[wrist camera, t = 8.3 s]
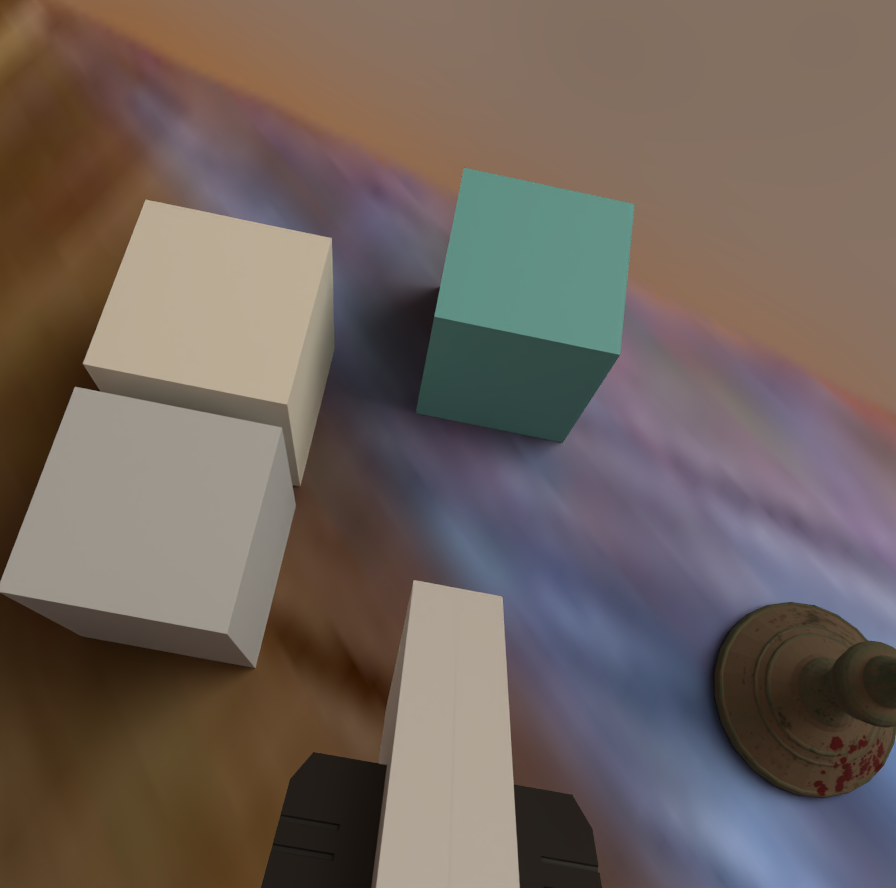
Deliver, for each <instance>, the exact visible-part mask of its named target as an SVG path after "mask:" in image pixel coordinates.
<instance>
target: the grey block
mask: <svg viewBox="0 0 896 888" xmlns="http://www.w3.org/2000/svg"><path fill="white" fill-rule="evenodd" d="M295 507H296V503H295V498H294V492H293V486H292V481H291V475H290V470H289V464H288V458H287V453H286V447H285V441H284V436H283V430H282V427H277V426H272V425H267V424H262V423H257V422H251V421H246V420H241V419H236V418H231V417H226V416H221V415H216V414H211V413H206V412H201V411H196V410H191V409H186V408H181V407H175V406H170V405H165V404H160V403H155V402H150V401H145V400H140V399H135V398H130V397H125V396H120V395H115V394H110V393H105V392H99V391H94V390H89V389H84V388H79V387H75V388H74V390H73V393H72V396H71V398H70V401H69V404H68V406H67V409H66V411H65V414H64V417H63V419H62V422H61V424H60V427H59V430H58V432H57V435H56V438H55V440H54V443H53V445H52V448H51V451H50V453H49V456H48V458H47V461H46V464H45V466H44V469H43V472H42V474H41V477H40V479H39V482H38V485H37V487H36V490H35V492H34V495H33V498H32V500H31V503H30V506H29V508H28V511H27V513H26V516H25V519H24V521H23V524H22V526H21V529H20V532H19V534H18V537H17V540H16V542H15V545H14V547H13V550H12V553H11V555H10V558H9V560H8V563H7V566H6V568H5V571H4V574H3V576H2V579H1V581H0V593H1V594H3V595H5V596H7V597H9V598H10V599H12V600H14V601H16V602H18V603H20V604H22V605H24V606H25V607H27V608H29V609H31V610H33V611H35V612H37V613H39V614H41V615H42V616H44V617H46V618H48V619H50V620H52V621H54V622H56V623H57V624H59V625H61V626H63V627H65V628H67V629H69V630H71V631H73V632H74V633H76V634H78V635H80V636H83V637H88V638H94V639H99V640H104V641H110V642H115V643H121V644H126V645H132V646H137V647H143V648H148V649H153V650H159V651H164V652H170V653H175V654H181V655H186V656H192V657H197V658H202V659H208V660H213V661H219V662H224V663H230V664H235V665H241V666H246V667H252V668H256V663H257V659H258V655H259V651H260V647H261V643H262V639H263V635H264V631H265V627H266V623H267V619H268V615H269V611H270V607H271V603H272V599H273V595H274V591H275V587H276V583H277V579H278V575H279V571H280V567H281V563H282V559H283V555H284V551H285V547H286V543H287V539H288V535H289V531H290V527H291V523H292V519H293V515H294V511H295Z"/></svg>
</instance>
